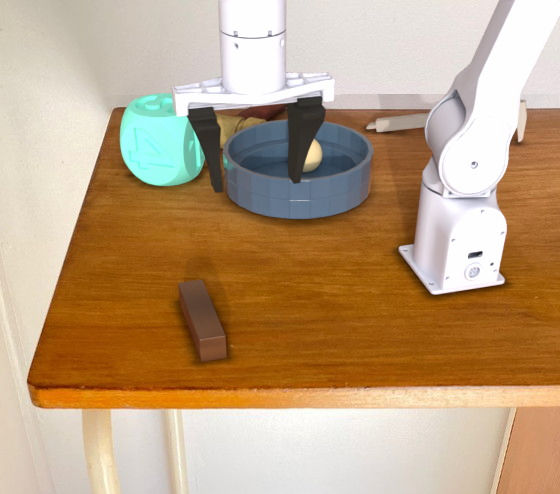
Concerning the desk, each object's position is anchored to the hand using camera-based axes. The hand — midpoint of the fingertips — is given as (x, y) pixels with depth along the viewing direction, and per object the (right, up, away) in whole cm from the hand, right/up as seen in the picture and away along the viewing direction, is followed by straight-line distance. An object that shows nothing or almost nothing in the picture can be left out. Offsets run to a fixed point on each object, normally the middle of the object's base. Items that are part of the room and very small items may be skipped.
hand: (255, 183), depth 82 cm
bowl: (+4, +6, +19) cm, 21 cm away
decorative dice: (-11, +10, +23) cm, 27 cm away
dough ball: (+5, +11, +20) cm, 23 cm away
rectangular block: (-5, -14, -2) cm, 15 cm away
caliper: (+24, +17, +30) cm, 42 cm away
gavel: (-1, +19, +33) cm, 38 cm away
